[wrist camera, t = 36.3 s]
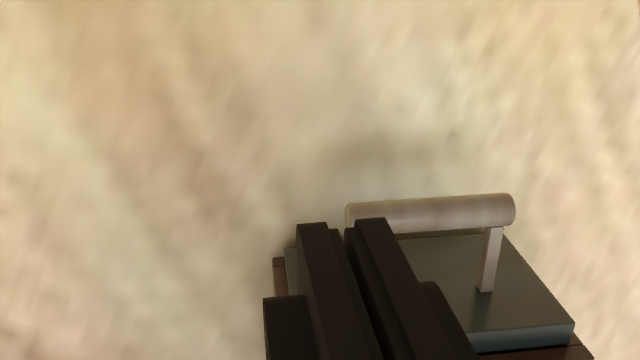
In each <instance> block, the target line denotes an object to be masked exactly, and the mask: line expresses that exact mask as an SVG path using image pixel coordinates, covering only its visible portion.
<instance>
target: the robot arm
mask: <svg viewBox="0 0 640 360" xmlns="http://www.w3.org/2000/svg"><path fill="white" fill-rule="evenodd" d="M296 253H297V295H289V296H279V297H269V298H263V317H264V334H265V348H266V360H480V359H479V357H478V355H477V353H476V352H475V350H474V348H473V346H472V344H471V343H470V341H469V339H468V337H467V336H466V334H465V332H464V330H463V328H462V327H461V325H460V323H459V321H458V319H457V318H456V316H455V314H454V312H453V310H452V309H451V307H450V305H449V303H448V301H447V300H446V298H445V296H444V294H443V293H442V291H441V289H440V287H439V286H438V285H437V283H436V282H434V281H424V282H418V280H417V278H416V276H415V274H414V272H413V270H412V268H411V266H410V264H409V262H408V261H407V259H406V257H405V255H404V253H403V251H402V249H401V247H400V245H399V243H398V241H397V239H396V237H395V235H394V233H393V231H392V229H391V227H390V225H389V223H388V221H387V220H386V218H385V217H376V218H364V219H356V220H355V222H354V227H348V228H345V231H344V245H343V242H342V239H341V236H340V233H339V231H338V229H337V228H336V229H328V226H327V223H326V222H317V223H305V224H297V226H296Z"/></svg>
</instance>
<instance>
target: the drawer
mask: <svg viewBox="0 0 640 360" xmlns="http://www.w3.org/2000/svg"><path fill="white" fill-rule="evenodd" d="M376 217H385V218H386V220H387V221H388V223H389V225H390V227H391V229H392V231H393V233H394V234H398V233H412V232H425V231H439V230H452V229H466V228H479V227H485V230H484V233H482V234H469V235H455V236H442V237H429V238H415V239H402V240H397V241H398V243H399V245H400V247H401V249H402V251H403V253H404V255H405V257H406V259H407V261H408V262H409V264H410V266H411V268H412V270H413V272H414V274H415V276H416V278H417V280H418V282H424V281H434V282H436V283H437V285H438V286H439V287H440V289H441V291H442V293H443V294H444V296H445V298H446V300H447V301H448V303H449V305H450V307H451V309H452V310H453V312H454V314H455V316H456V318H457V319H458V321H459V323H460V325H461V327H462V328H463V330H464V332H465V334H466V336H467V337H468V339H469V341H470V343H471V344H472V346H473V348H474V350H475V352H476V353H483V352H493V351H497V353H498V354H503V353H512V352H522V351H532V350H536V348H535V347H542V346H552V345H561V344H569V343H570V341H571V337H572V334H573V330H574V326H575V322H574V320H573V319H572V318H571V317H570V316H569V314H568V313H567V312H566V311H565V309H564V308H563V307H562V306H561V304H560V303H559V302H558V301H557V299H556V298H555V297H554V296H553V294H552V293H551V292H550V291H549V290H548V288H547V287H546V286H545V285H544V283H543V282H542V281H541V280H540V278H539V277H538V276H537V275H536V273H535V272H534V271H533V270H532V268H531V267H530V266H529V265H528V264H527V262H526V261H525V260H524V259H523V257H522V256H521V255H520V254H519V252H518V251H517V250H516V249H515V247H514V246H513V245H512V244H511V242H510V241H509V240H508V239H507V238H506V236H505V235H504V234H503V230H504V226H506V225H511V224H512V223H513V222H514V219H515V204H514V201H513V198H512V197H511V195H510V194H508V193H494V194H479V195H464V196H449V197H434V198H419V199H404V200H389V201H374V202H359V203H348V204H347V205H346V208H345V222H346V228H348V227H354V222H355V220H356V219H364V218H376ZM343 245H344V244H343ZM284 267H285V275H286V283H287V291H288V296H289V295H297V253H296V248H284Z"/></svg>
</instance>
